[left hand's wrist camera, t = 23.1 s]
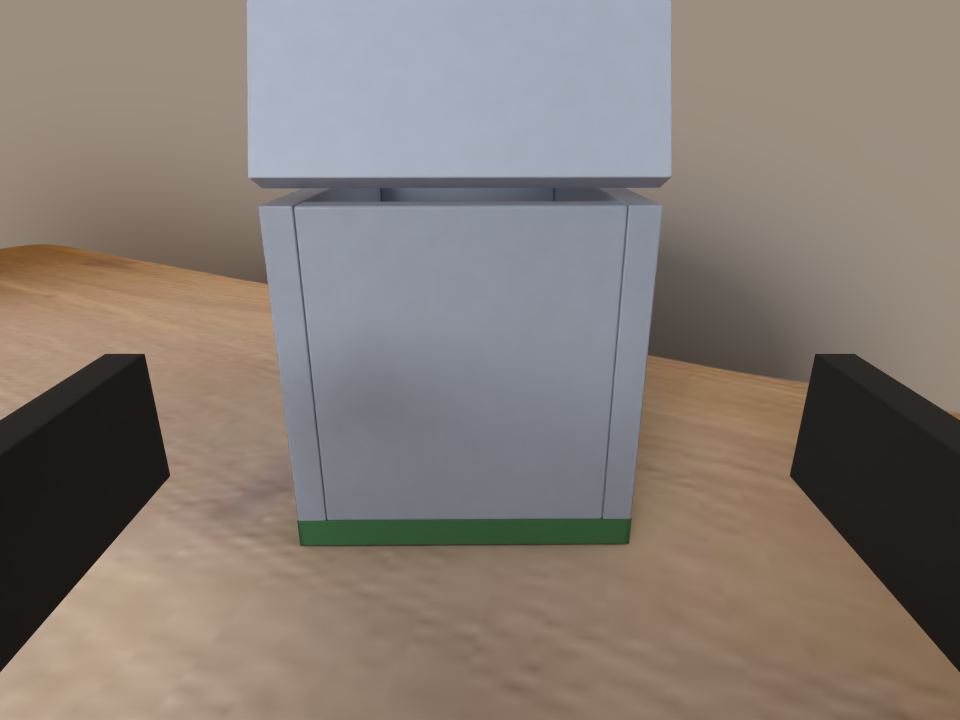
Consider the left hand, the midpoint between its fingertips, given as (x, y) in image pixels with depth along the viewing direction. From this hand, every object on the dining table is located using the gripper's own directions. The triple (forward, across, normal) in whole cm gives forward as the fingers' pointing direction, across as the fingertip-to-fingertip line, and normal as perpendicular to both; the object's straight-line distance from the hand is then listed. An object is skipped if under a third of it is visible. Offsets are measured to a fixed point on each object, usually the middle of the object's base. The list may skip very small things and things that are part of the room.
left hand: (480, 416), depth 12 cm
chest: (+13, 0, -7) cm, 15 cm away
